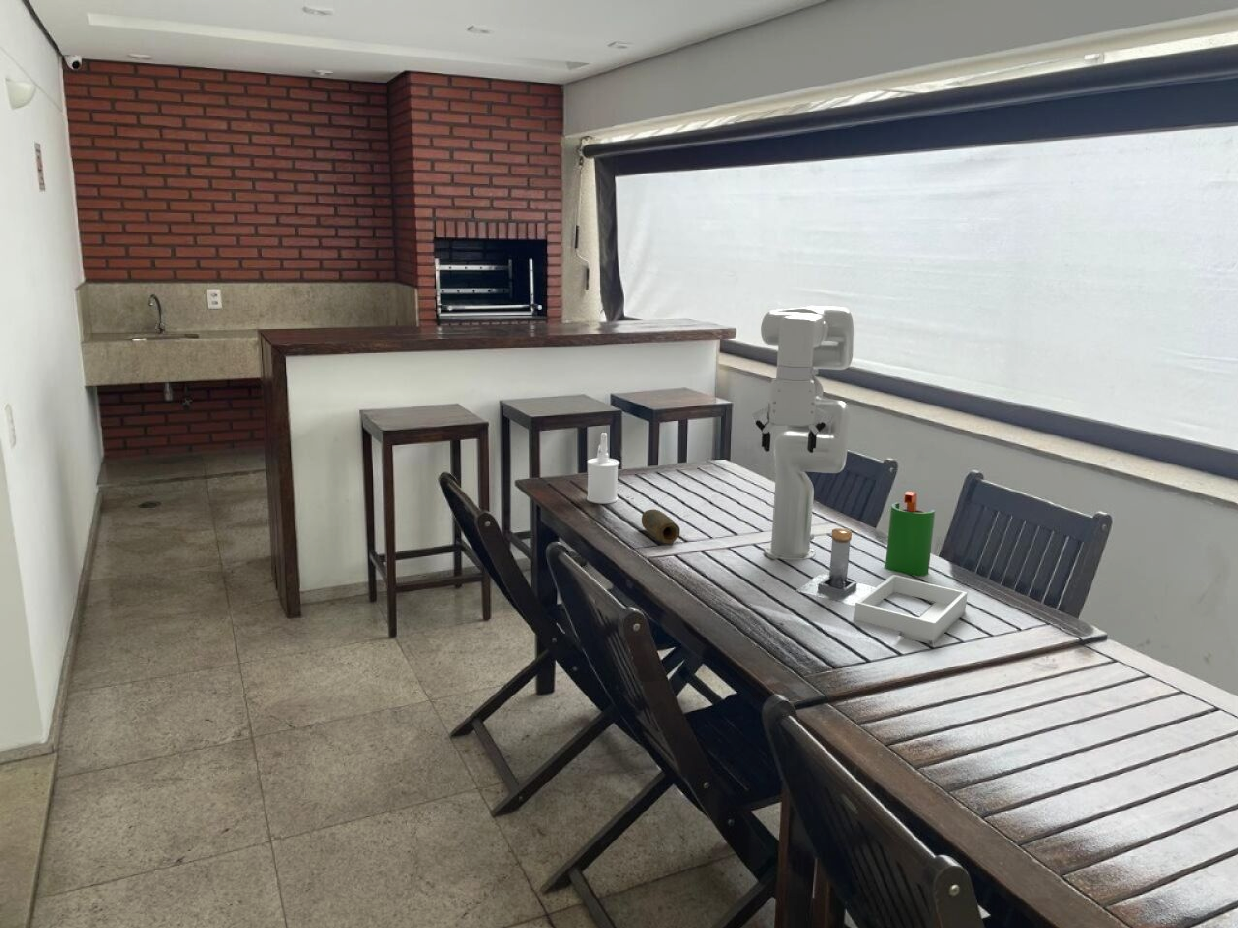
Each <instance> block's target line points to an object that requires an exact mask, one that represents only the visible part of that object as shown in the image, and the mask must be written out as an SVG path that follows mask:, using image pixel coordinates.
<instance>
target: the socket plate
mask: <svg viewBox="0 0 1238 928" xmlns="http://www.w3.org/2000/svg"><path fill="white" fill-rule="evenodd" d="M828 582H829V574H823V573H820V574H818V575H817V576H815V577H814V578H812V579H811V580H809V581H807V582H806V583H805V584H803V585H801V586H799V587H798V588H797V589H795V590H794V591H795V592H798V593H801V594H806V595H809V596H813V597H818V598H821V599H826V600H828V601H833V602H838V603H840V604H841V603H842V604H845V605H848V606H853V607H855V603H856V602H857V601H858V600H860V599H861V598H862V597H864V596H865V595H867V594H868V593H869V592H871V591H872V590H873V589H875V588H876V587H877V586H873V585H870V584H865V583H862V582H861V583H860V582H857V581H854V580H849V579H847V586H846V588H844V589H843V588H839V587H835V586H831V585H828Z"/></svg>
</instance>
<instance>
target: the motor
mask: <svg viewBox="0 0 1238 928" xmlns="http://www.w3.org/2000/svg"><path fill="white" fill-rule="evenodd" d="M903 501H904V503H906V508H902V509H900V502H894V503H892V504H890V510H889V511H890V514H889V521H888V522H889V523H888V532H887V533H888V534H887V542H886V551H885V552H886V553H885V560H884V561H885V563H884V569H885V570H887V571H891V572H896V573H901V574H904V575H909V576H912V577H917V578H919V577H920V578H921V577H925V576H927V575H928V574H929V572H930V571H929V569H930V562H931V561H930V560H931V552H932V542H933V536H934V535H933V534H934V532H933V531H934V526H935V525H934V524H935V516H936V510H935V509H930V510H929V511H927V512H925V511H923V510H919V509H917V493H916V492H914V491H913V492H912V491H906V492H905V494H904V500H903Z"/></svg>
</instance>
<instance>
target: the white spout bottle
mask: <svg viewBox="0 0 1238 928" xmlns="http://www.w3.org/2000/svg"><path fill="white" fill-rule="evenodd" d="M608 450H609V448H608V434H607V433H606V432H604V433H603V432H602V433H601V434H600V442H599V444H598V448H597V453H596V458H592V459H589V460H587V465H588V470H587V471H588V473H587V474H588V475H587V477H588V479H587V480H588V481H587V497H586V499H587V501H588V502H591V503H594V504H612V503H616V502H617V501H618V500H619V497H618V485H619V483H618V480H619V475H618V474H619V465H620V462H619V460H617V459H613V458H609V453H608Z"/></svg>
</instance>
